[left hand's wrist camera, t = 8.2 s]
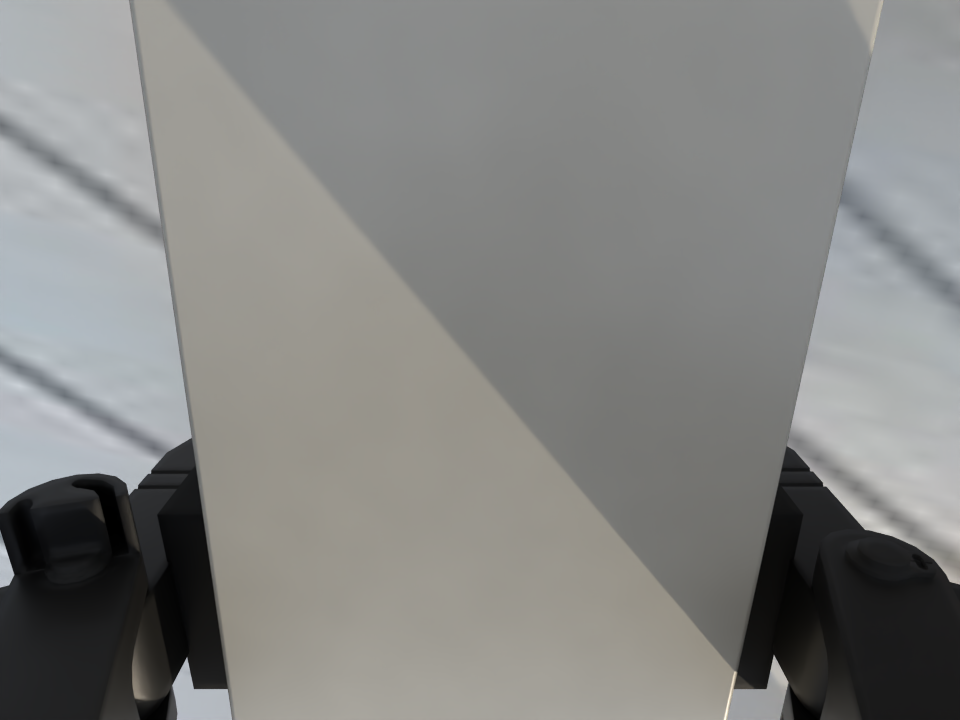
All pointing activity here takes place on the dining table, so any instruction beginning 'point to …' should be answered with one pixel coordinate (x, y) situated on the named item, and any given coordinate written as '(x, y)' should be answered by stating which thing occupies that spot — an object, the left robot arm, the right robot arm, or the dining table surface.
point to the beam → (493, 335)
